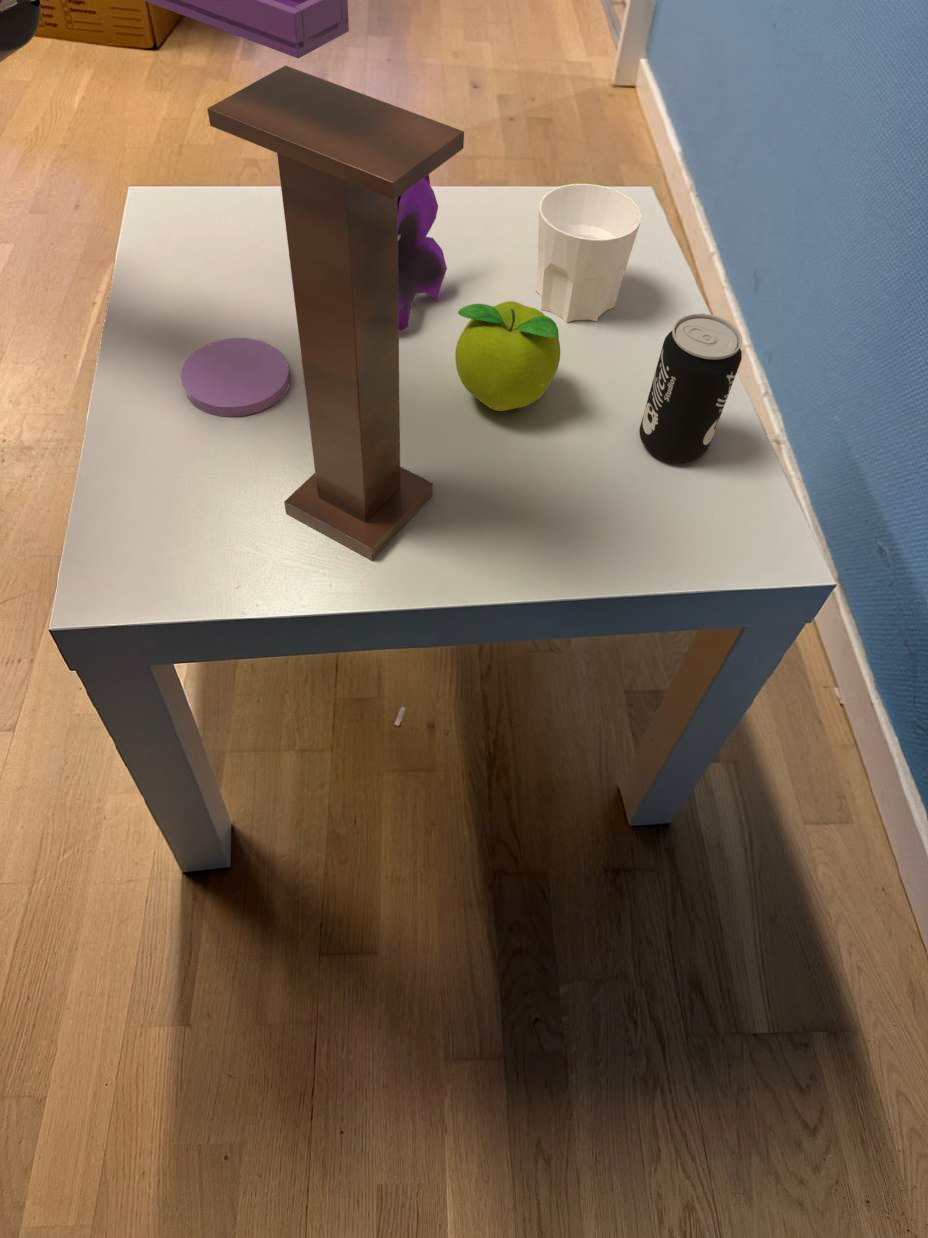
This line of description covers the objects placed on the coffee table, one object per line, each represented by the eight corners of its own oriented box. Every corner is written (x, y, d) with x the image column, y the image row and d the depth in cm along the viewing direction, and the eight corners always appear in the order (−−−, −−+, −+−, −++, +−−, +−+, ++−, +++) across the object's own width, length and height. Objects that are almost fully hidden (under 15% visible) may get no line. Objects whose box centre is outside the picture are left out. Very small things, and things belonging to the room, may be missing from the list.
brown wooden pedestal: (391, 571, 73) (382, 190, 47) (267, 503, 76) (194, 114, 50) (452, 504, 77) (474, 124, 51) (332, 443, 81) (295, 58, 55)
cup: (610, 270, 99) (628, 182, 91) (630, 326, 93) (651, 238, 85) (521, 272, 98) (531, 184, 90) (536, 329, 92) (548, 241, 84)
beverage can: (686, 478, 81) (724, 371, 71) (624, 445, 83) (653, 336, 73) (720, 439, 84) (761, 331, 74) (659, 408, 86) (691, 300, 76)
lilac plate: (242, 431, 81) (240, 421, 80) (160, 388, 84) (157, 378, 83) (311, 373, 86) (310, 363, 85) (231, 334, 89) (229, 324, 88)
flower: (308, 356, 96) (400, 348, 87) (237, 217, 87) (332, 193, 78) (386, 289, 103) (477, 276, 95) (328, 155, 94) (423, 128, 86)
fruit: (528, 444, 82) (541, 354, 74) (438, 409, 84) (442, 319, 76) (567, 386, 87) (583, 297, 79) (481, 355, 89) (488, 265, 81)
